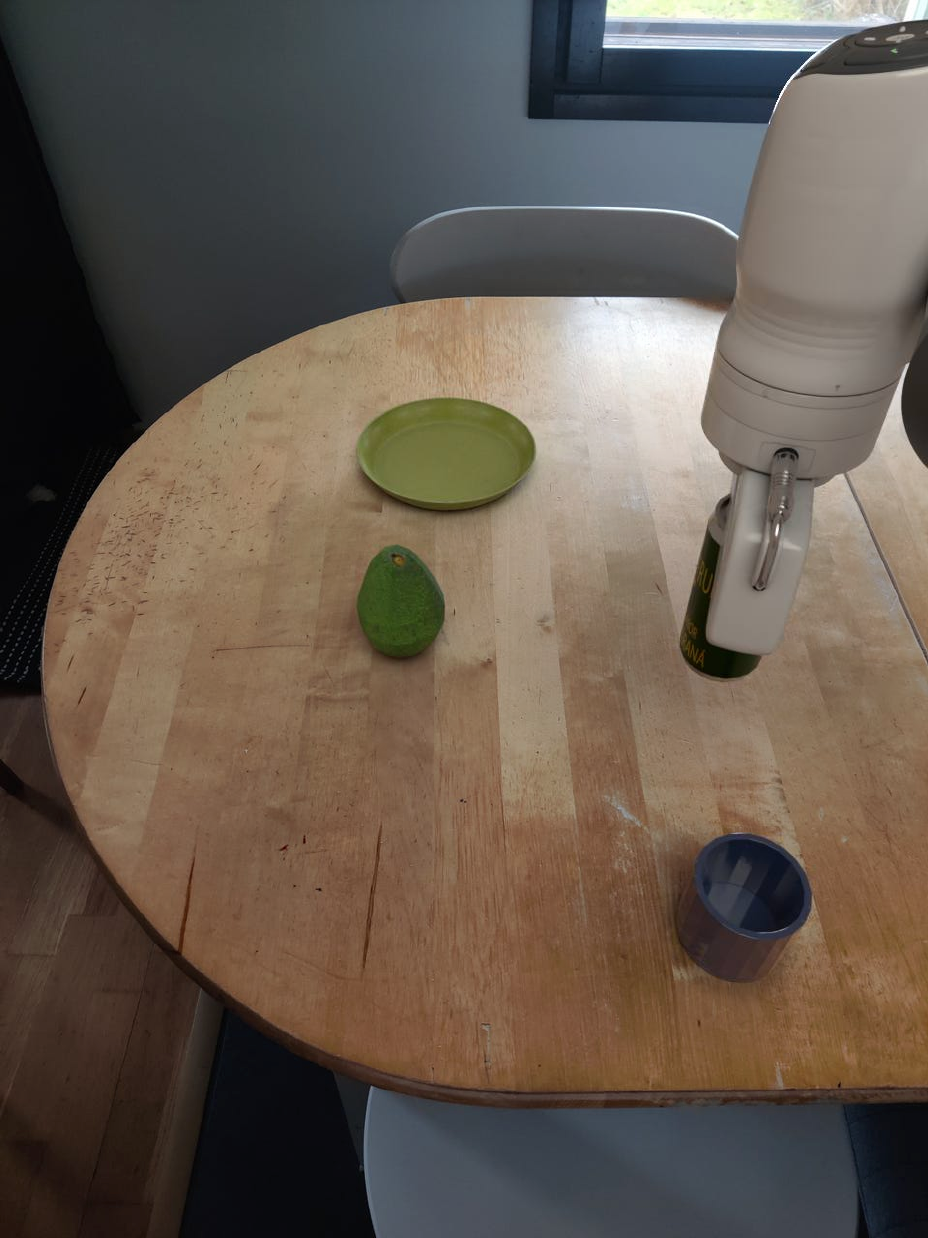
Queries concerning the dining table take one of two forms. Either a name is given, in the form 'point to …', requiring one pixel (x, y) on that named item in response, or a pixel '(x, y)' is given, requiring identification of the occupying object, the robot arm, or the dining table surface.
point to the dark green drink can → (693, 640)
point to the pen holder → (742, 907)
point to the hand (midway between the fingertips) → (736, 595)
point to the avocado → (400, 603)
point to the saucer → (446, 452)
